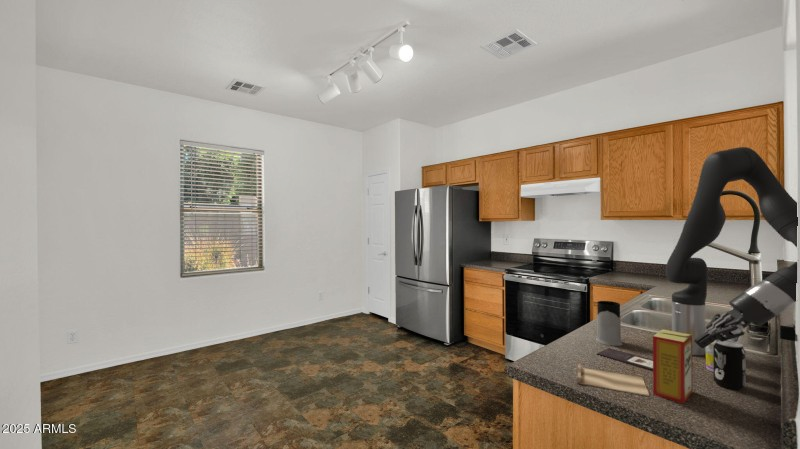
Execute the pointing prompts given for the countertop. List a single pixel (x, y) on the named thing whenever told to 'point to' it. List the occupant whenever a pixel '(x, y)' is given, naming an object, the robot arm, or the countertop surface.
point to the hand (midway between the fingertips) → (697, 344)
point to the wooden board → (612, 381)
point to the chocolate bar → (628, 358)
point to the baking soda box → (672, 365)
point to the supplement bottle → (710, 356)
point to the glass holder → (609, 323)
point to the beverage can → (729, 365)
